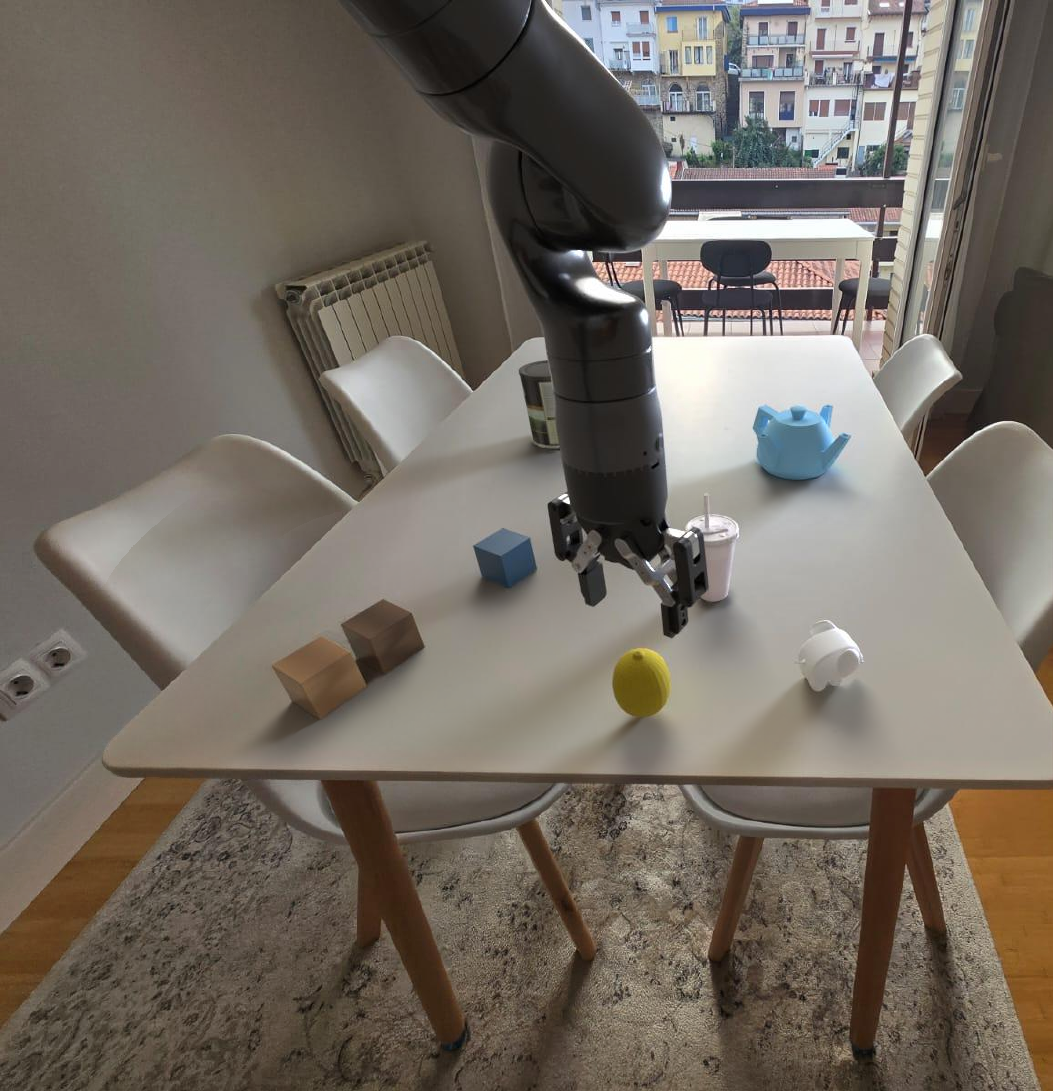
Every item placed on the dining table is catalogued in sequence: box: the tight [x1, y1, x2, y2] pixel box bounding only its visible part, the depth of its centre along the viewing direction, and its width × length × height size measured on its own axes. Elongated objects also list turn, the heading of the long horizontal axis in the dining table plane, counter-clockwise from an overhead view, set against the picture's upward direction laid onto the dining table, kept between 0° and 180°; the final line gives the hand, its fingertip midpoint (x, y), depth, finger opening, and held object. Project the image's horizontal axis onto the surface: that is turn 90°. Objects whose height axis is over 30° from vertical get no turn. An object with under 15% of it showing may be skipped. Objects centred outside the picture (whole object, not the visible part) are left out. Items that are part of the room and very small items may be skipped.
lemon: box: [611, 647, 672, 718], centre depth 57 cm, size 6×6×8 cm
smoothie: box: [684, 493, 740, 603], centre depth 72 cm, size 6×6×14 cm
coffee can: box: [518, 359, 560, 450], centre depth 114 cm, size 10×10×14 cm
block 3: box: [472, 527, 538, 589], centre depth 78 cm, size 5×5×5 cm
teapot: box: [752, 404, 852, 481], centre depth 104 cm, size 15×15×11 cm
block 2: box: [340, 598, 426, 675], centre depth 65 cm, size 5×5×5 cm
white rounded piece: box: [793, 619, 865, 692], centre depth 61 cm, size 7×8×6 cm
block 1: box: [270, 635, 368, 720], centre depth 60 cm, size 5×5×5 cm
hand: (634, 615), depth 53 cm, fingers open, 8 cm apart
